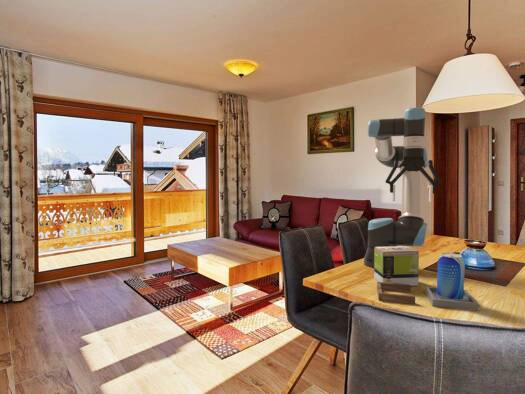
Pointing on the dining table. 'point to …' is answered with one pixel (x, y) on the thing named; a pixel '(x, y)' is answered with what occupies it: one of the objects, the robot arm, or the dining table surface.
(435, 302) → the tray
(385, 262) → the tea box
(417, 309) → the dining table surface
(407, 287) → the frame
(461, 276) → the beer can
